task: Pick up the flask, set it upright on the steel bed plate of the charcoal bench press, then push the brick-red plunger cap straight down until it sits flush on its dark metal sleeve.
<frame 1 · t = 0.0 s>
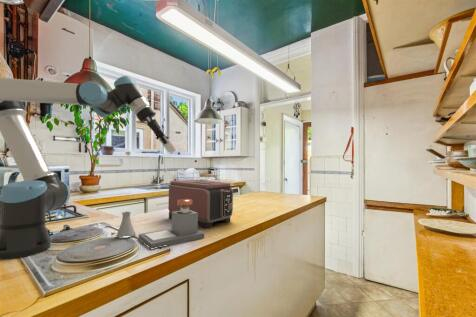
hand: (172, 151, 104), 36 cm above the countertop, tool tilted 35°, fingers open, 13 cm apart
toaster: (202, 221, 127), on the countertop
flask: (125, 236, 99), on the countertop
plunger: (184, 210, 101), point 11 cm above the countertop, slide at 3.0 cm
press: (172, 238, 97), on the countertop
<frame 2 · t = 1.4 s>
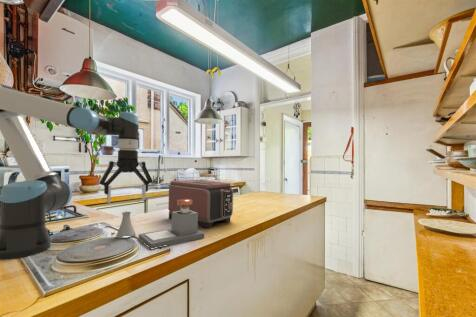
hand: (126, 200, 99), 15 cm above the countertop, tool pointing down, fingers open, 13 cm apart
nothing on the countertop moved.
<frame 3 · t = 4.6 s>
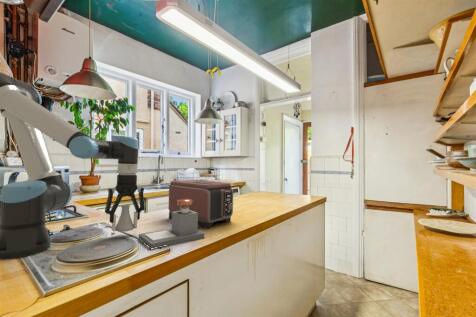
hand: (124, 228, 99), 3 cm above the countertop, tool pointing down, fingers closed on flask, 8 cm apart
flask: (124, 230, 99), point 2 cm above the countertop, touching gripper
everything else where it was.
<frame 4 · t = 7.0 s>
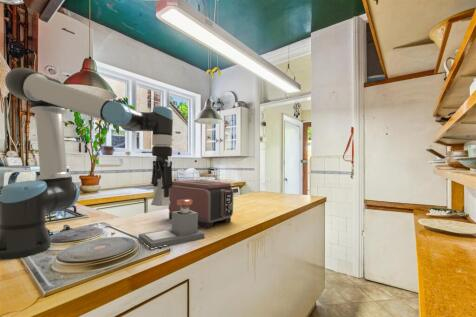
hand: (161, 203, 94), 15 cm above the countertop, tool pointing down, fingers closed on flask, 8 cm apart
flask: (160, 205, 94), point 14 cm above the countertop, touching gripper
everything else where it was.
when the fingers open (4 cm above the countertop, at t = 9.4 s): flask stays where it is, resting on press.
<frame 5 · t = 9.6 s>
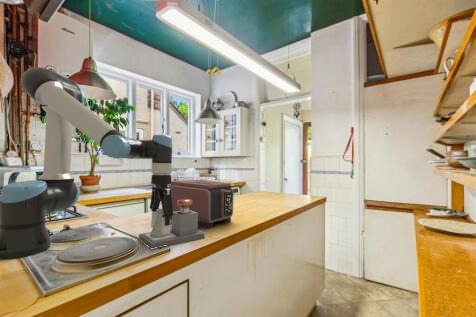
hand: (160, 230, 94), 4 cm above the countertop, tool pointing down, fingers open, 10 cm apart
flask: (159, 235, 94), point 2 cm above the countertop, touching press
everything else where it was.
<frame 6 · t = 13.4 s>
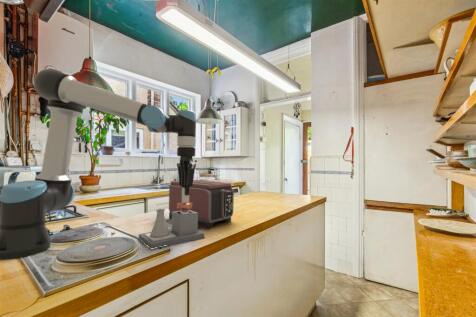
hand: (185, 202, 101), 14 cm above the countertop, tool pointing down, fingers closed
plunger: (184, 213, 100), point 10 cm above the countertop, slide at 1.6 cm, touching gripper
everything else where it was.
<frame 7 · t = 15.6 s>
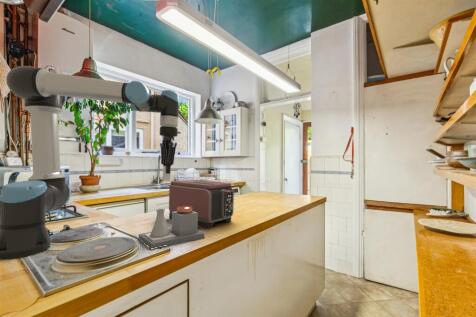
hand: (166, 181, 103), 23 cm above the countertop, tool pointing down, fingers closed
plunger: (184, 217, 100), point 8 cm above the countertop, slide at -0.1 cm
everything else where it was.
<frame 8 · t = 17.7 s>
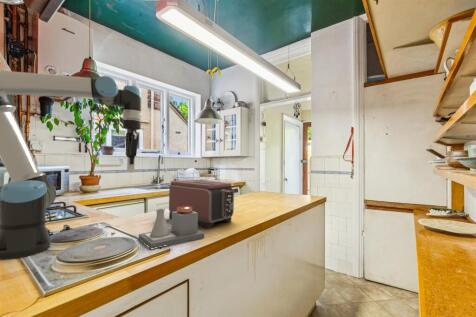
hand: (130, 171, 109), 26 cm above the countertop, tool pointing down, fingers closed
nothing on the countertop moved.
at the end: flask 0.1 cm from the target spot on the press, point 2.2 cm above the press's base; flask tilted 0°; plunger slide at -0.1 cm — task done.
